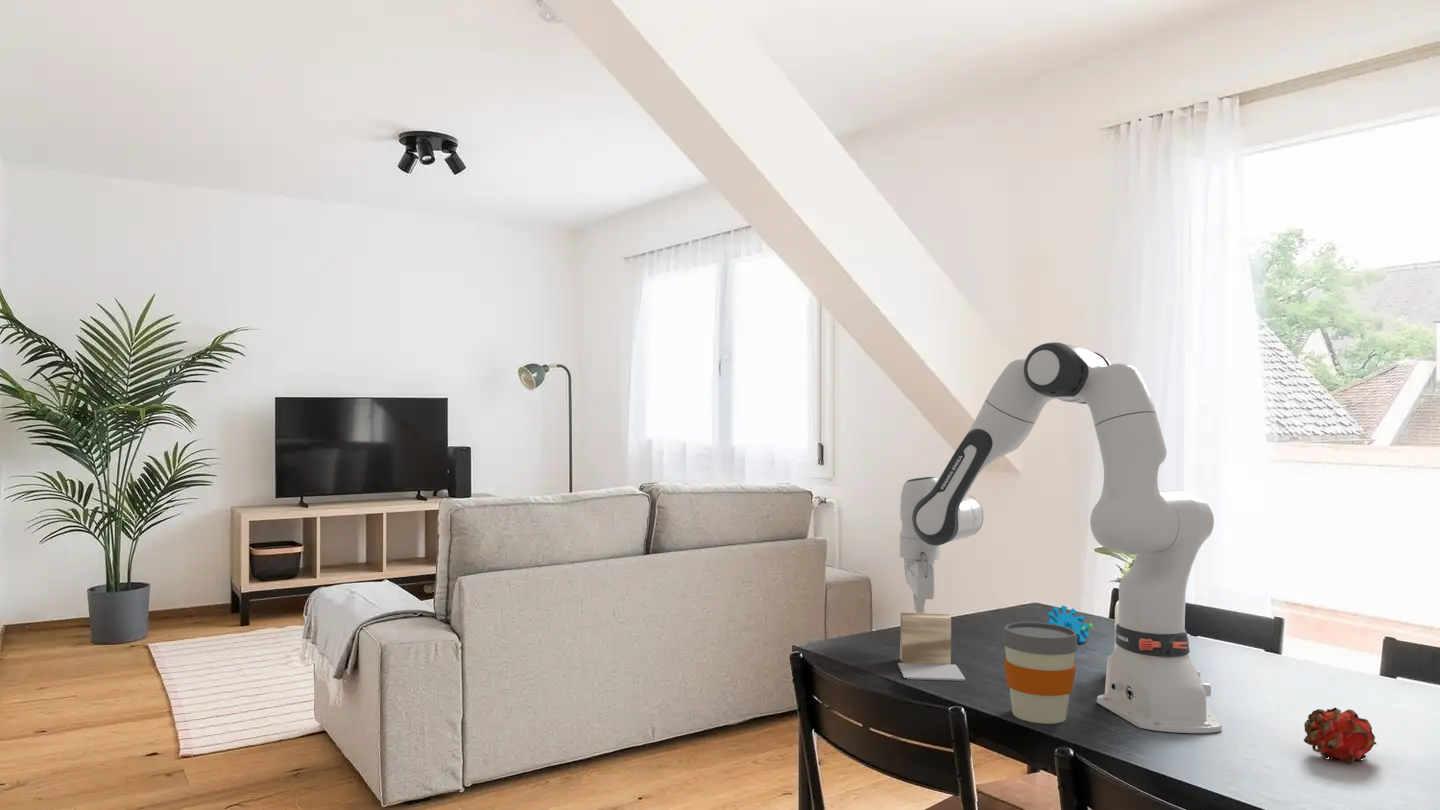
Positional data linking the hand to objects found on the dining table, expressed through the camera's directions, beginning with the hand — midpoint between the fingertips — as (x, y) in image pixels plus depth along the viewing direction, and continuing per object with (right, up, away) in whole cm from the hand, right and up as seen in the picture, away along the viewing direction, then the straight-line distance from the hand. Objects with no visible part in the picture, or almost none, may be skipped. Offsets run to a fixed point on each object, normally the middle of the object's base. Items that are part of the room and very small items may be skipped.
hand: (919, 611), depth 212 cm
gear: (+38, -9, +11) cm, 40 cm away
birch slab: (-1, -9, -10) cm, 13 cm away
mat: (-1, -9, -18) cm, 20 cm away
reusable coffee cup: (+12, -9, -44) cm, 47 cm away
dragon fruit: (+53, -9, -63) cm, 83 cm away
